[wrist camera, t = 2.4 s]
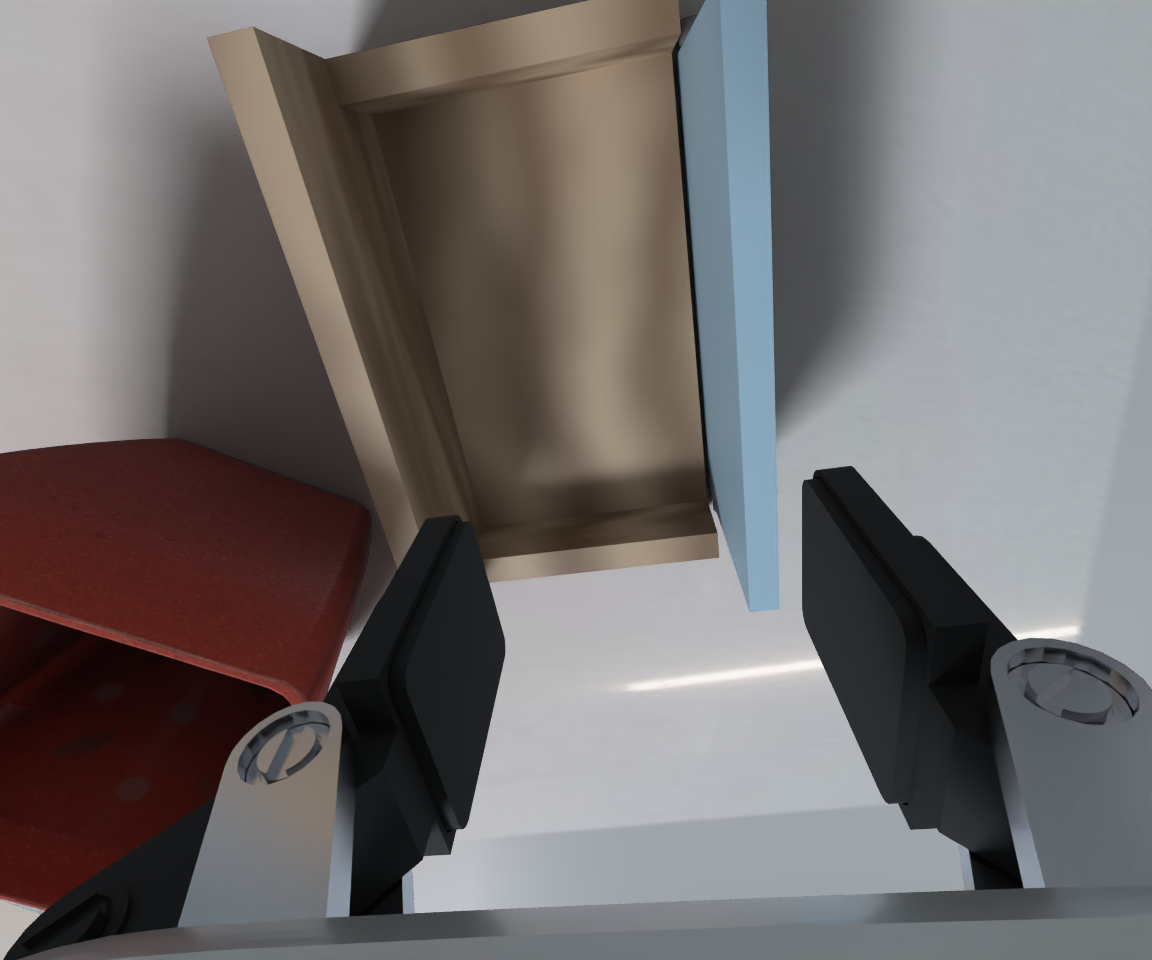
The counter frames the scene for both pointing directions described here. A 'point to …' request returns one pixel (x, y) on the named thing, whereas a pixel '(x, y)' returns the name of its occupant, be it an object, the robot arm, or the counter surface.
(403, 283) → the box
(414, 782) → the robot arm
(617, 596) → the counter surface
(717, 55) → the panel
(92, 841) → the plant pot
